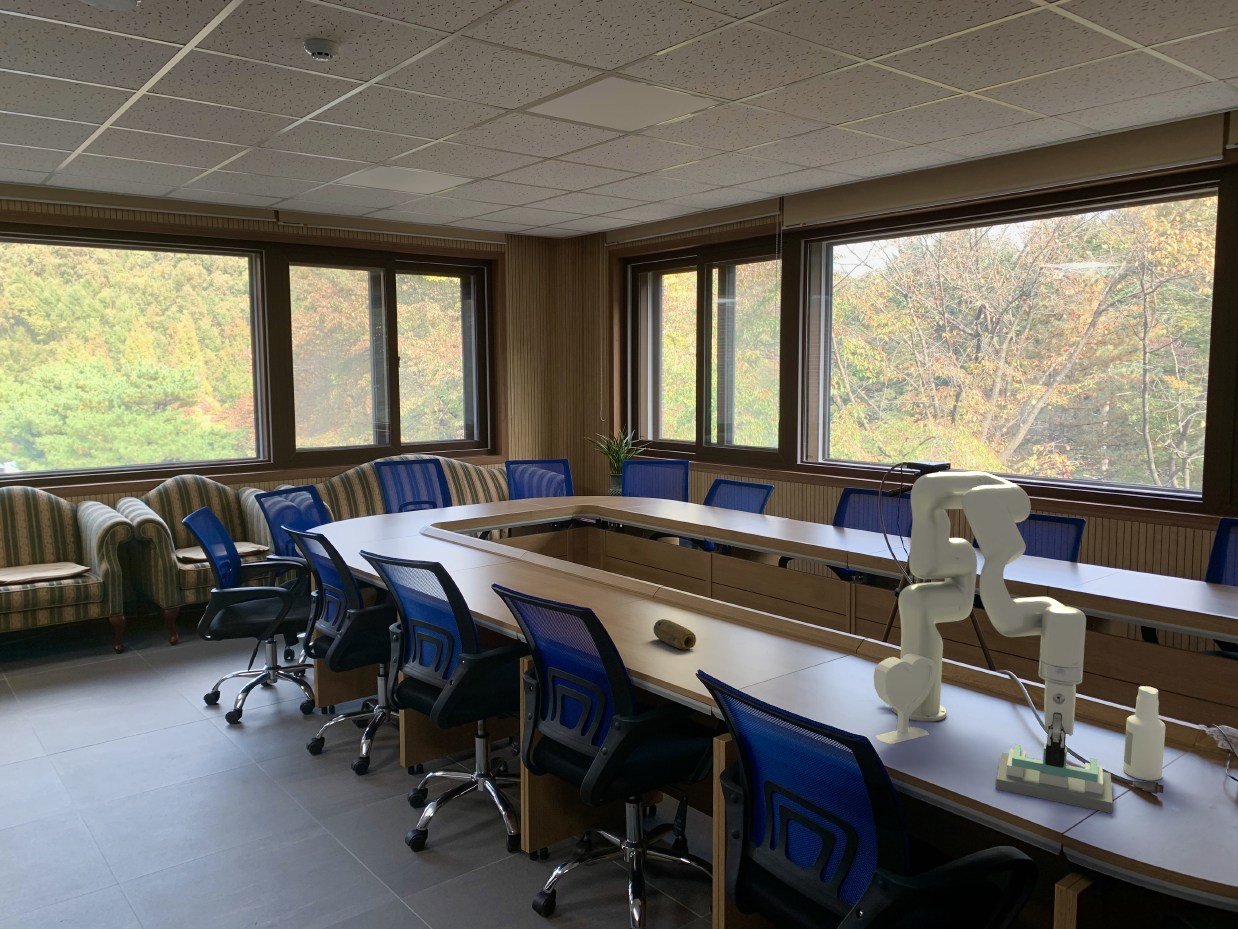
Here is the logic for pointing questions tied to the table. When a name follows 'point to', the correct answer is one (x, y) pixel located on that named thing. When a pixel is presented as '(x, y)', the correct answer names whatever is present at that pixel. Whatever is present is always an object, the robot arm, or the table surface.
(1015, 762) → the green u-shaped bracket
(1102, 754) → the table surface
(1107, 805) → the stand
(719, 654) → the table surface
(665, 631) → the stone weight
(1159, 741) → the white bottle
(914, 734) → the heart sculpture
